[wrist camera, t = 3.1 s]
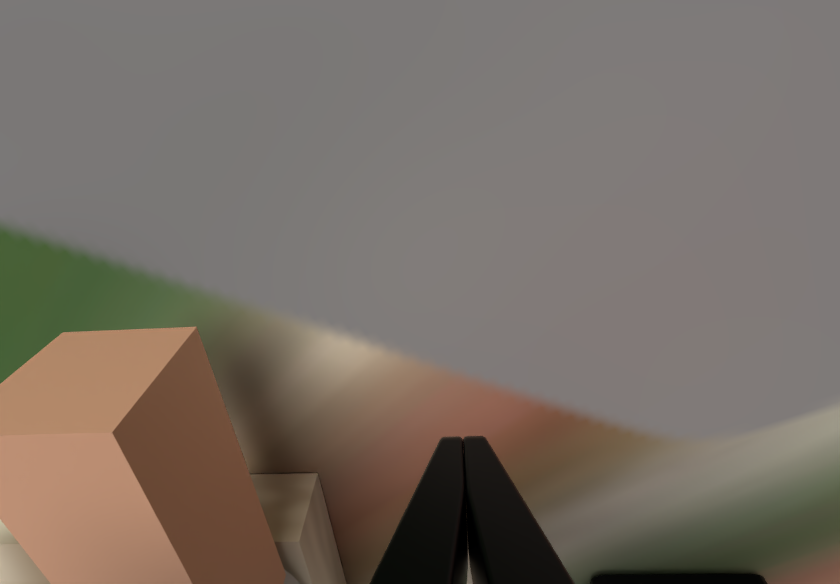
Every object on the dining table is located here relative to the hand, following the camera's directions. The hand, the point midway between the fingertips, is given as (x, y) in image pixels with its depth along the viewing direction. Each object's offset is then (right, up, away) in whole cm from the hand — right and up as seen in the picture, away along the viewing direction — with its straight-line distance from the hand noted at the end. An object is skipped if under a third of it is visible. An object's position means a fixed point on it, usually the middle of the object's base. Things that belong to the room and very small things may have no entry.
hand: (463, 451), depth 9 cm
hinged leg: (-7, -3, +4) cm, 8 cm away
